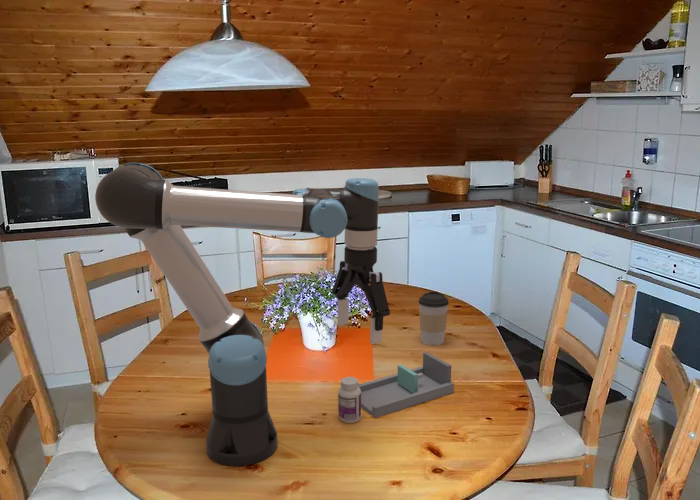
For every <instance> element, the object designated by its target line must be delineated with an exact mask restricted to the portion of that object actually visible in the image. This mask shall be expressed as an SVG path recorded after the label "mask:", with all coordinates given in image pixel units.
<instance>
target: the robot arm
mask: <svg viewBox="0 0 700 500" xmlns="http://www.w3.org/2000/svg"><path fill="white" fill-rule="evenodd" d="M94 197H95V204H96V207H97V210H98V212H99V213H100V215H101V217H102V218H104V219H105V220H106V221H107V222H108V223H110V224H112V225H113V226H116V227H119V228H123V229H124V231H125V232H126V233H127V235H128V237H129V238H132V239H137V240H140V241H141V242H142V244H143V245H144V247H145V248H146V250H147V252H149V254H150V256H151V257H152V259H153V260H154V262H155V263H156V265H157V266H158V268H159V269H160V270H161V272H162V274H163V275H164V277H165V279H166V280H167V282H168V283H169V284H170V286H171V287H172V289H173V290H174V291H175V294H177V296H178V297H179V299H180V300H181V302H182V303H183V306H184V307H185V308H186V309H187V311H188V312H189V314H190V315H191V317H192V318H193V320H194V322H195V323H196V324H197V326H198V328H200V329H199V334H198V340H199V341H200V343H201V345H202V346H203V347H204V349H205V350H206V352H207V353H208V359H207V364H208V365H207V366H208V369H209V376H210V377H209V379H210V394H211V396H210V397H211V407H212V408H211V409H212V418H211V421H210V425H209V429H208V431H207V432H208V433H207V435H206V439H205V441H206V442H205V444H206V445H205V447H206V454H207V456H208V458H210V460H212V461H213V462H215V463H217V464H220V465H225V466H229V467H230V466H231V467H238V466H239V467H240V466H249V465H253V464H256V463H259V462H261V461H264V460H265V459H267V458H269V457H270V456H272V455H273V453H274V452H276V450H277V447H278V443H279V442H278V432H277V429H276V427H275V425H274V422H273V420H272V416H271V415H270V413H269V404H268V402H269V401H268V382H267V380H268V379H267V361H268V360H267V359H268V358H267V353H266V349H265V345H264V344H265V342H264V338H263V334H262V333H261V331H260V329H259V328H258V326H257V325H256V324H254V322H252V321H251V320H250V319H249V318H248V317H247V315H246V313H245V311H243V309H240V308H238V307H237V308H236V307H233V306H232V304H231V302H230V301H229V300H228V298H227V296H226V294H225V293H224V292H223V290H222V288H221V287H220V284H218V282H217V281H216V279H215V277H214V275H213V274H212V273H211V271H210V270H209V268H208V267H207V265H206V263H205V262H204V260H203V259H202V257H201V256H200V254H199V252H198V251H197V250H196V248H195V246H194V245H193V243H192V241H191V240H190V239H189V237H188V235H187V234H186V233H185V231H184V229H183V228H182V226H190V227H206V228H221V229H223V228H225V229H239V230H240V229H241V230H256V231H258V230H260V231H275V232H276V231H277V232H289V233H292V232H293V233H295V232H296V233H304V234H316V235H317V236H319V237H322V238H324V239H333V238H335V237H338V236H339V235H341V234H342V233H343V232H344V245H345V247H344V251H343V254H344V257H343V259H344V260H341V261H339V269H338V271H337V275H336V278H335V280H334V281H335V282H334V284H333V287H332V290H331V293H332V295H335V297H336V299H337V326H338V327H340V326H346V325H350V324H349V323H350V322H349V321H350V319H349V316H350V315H349V314H350V312H349V311H350V298H349V297H350V296H349V294H350V292H351V291H352V289H353V288H354V287H355V286H357V287H359V288H360V289H361V291H362V292H363V293H364V295H365V298H366V300H367V303H368V305H369V307H370V310H371V312H372V315H370V330H369V331H370V333H369V334H370V335H369V344H370V345H374V344H379V343H382V341H383V340H382V336H383V335H382V334H383V330H384V317H386V316H390V314H391V310H390V306H389V303H388V298H387V295H386V290H385V287H384V283H383V273H382V271H379V272H374V266H375V264H377V261H378V248H377V245H378V227H379V226H378V224H379V221H378V219H379V204H380V195H379V183H378V182H377V181H376V180H375V179H373V178H365V177H356V178H354V177H353V178H349V179H346V181H345V185H344V187H340V188H339V187H337V188H332V187H331V188H329V187H328V188H327V187H326V188H325V187H324V188H323V187H322V188H320V187H319V188H318V187H315V188H312V187H305V188H295V189H294V190H293V191H292V194H291V193H275V192H274V193H273V192H264V191H263V192H262V191H248V190H238V189H237V190H235V189H225V188H223V189H221V188H212V187H211V188H210V187H199V186H198V187H195V186H182V185H174V184H173V183H171V182H170V180H168V179H164V177H162V175H161V173H159V171H158V170H156V169H155V168H154V167H152V166H151V165H148V164H145V163H140V162H128V163H125V164H123V165H119V166H118V167H115V169H113V170H112V171H110V172H108V173H107V174H105V175H104V176H103V177H102V178H101V180H100V181H99V182H98V184H97V187H96V189H95V194H94Z"/></svg>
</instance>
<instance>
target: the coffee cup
mask: <svg viewBox="0 0 700 500" xmlns="http://www.w3.org/2000/svg"><path fill="white" fill-rule="evenodd" d="M418 305H419V306H418V307H419V310H418V311H419V314H418V315H419V329H420V341H421V343H422V342H423V343H422V344H425V345H429V346H440V345H443V344H444V342H445V333H446V329H447V319H448V305H449V298H447V297H446V296H445V294H442V293H440V292H438V291H433V290H431V291H429V292H426V293H424V294H422V296H421V297H419V298H418Z"/></svg>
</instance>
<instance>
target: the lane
mask: <svg viewBox="0 0 700 500" xmlns="http://www.w3.org/2000/svg"><path fill="white" fill-rule="evenodd" d="M410 370H412V371H413V372H415V373H417V374H419V373H423V377H420V378H418V392H416V393H412V392H410V391H408V390H407V389H405V388H404V387H402V386H401V385H399V384H398V383H397V380H398V372H396V373H394V374H391V375H388V376H384V377H380V378H376V379H373V380H370V381H366V382H362V383H358V387H359V388H360V390H361V409H363V410H364V411H366V412H367V413H368V414H369V415H371V416H372V417H373V418H375V419H377V418H379V417H380V418H381V417H382V416H386V415H388V414H392V413H394V412H398V411H401V410H405V409H407V408H410V407H413V406H417V405H419V404H423V403H425V402H428V401H432V400H435V399H438V398H441V397H444V396H447V395H450V394H454V391H455V389H454V388H455V383H454V382H452V364H451V363H448V362H446V361H444V360H442V359H440V358H438V356H435V355H433V354H431V353H429V352H427V351H426V352H423V353H422V366H420V367H419V366H418V367H415V368H412V369H410Z"/></svg>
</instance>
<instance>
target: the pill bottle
mask: <svg viewBox="0 0 700 500" xmlns="http://www.w3.org/2000/svg"><path fill="white" fill-rule="evenodd" d="M358 385H359V379H358V378H356V377H354V376H345V377H343V378H341V380H340V387H339V389H338V390H337V400H338V402H337V403H338V406H337V407H338V411H337V412H338V419H339V420H340V421H341V422H342V423H346V424H351V423H357V422H359V421H360V420H361V418H362V407H361V390H360V388H359V387H358Z"/></svg>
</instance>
